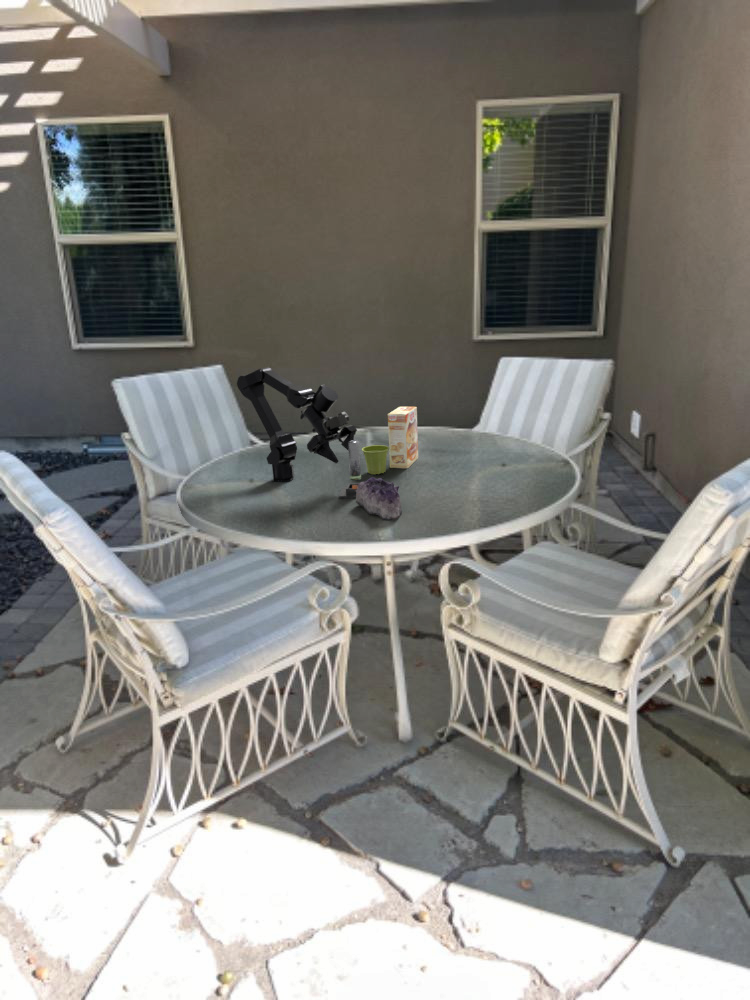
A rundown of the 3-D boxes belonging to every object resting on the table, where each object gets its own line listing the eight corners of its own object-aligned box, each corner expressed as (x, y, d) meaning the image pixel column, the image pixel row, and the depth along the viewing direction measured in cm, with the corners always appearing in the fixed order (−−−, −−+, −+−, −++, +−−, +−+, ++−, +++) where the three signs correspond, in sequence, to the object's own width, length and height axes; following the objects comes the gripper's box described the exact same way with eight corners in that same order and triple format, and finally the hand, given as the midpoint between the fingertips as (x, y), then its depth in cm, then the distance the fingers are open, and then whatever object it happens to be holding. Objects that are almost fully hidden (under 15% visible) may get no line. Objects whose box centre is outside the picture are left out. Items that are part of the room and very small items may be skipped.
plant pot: (387, 476, 237) (386, 451, 234) (360, 476, 239) (359, 451, 236) (392, 468, 246) (391, 445, 243) (366, 468, 248) (365, 445, 245)
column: (349, 480, 217) (346, 443, 214) (350, 477, 221) (348, 440, 217) (360, 480, 217) (358, 443, 213) (361, 477, 220) (359, 440, 217)
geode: (417, 516, 197) (412, 484, 193) (380, 528, 194) (375, 496, 190) (387, 495, 215) (382, 465, 211) (353, 506, 211) (348, 476, 207)
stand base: (338, 498, 216) (337, 488, 215) (343, 489, 226) (342, 479, 224) (370, 498, 215) (369, 487, 214) (373, 488, 224) (373, 478, 223)
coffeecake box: (408, 468, 245) (406, 414, 239) (388, 468, 247) (386, 414, 241) (419, 458, 258) (417, 406, 252) (401, 457, 261) (398, 405, 255)
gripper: (311, 410, 210) (340, 450, 207) (351, 400, 223) (379, 437, 220) (294, 432, 217) (322, 471, 214) (334, 421, 231) (361, 458, 227)
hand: (347, 459), depth 219 cm, fingers open, 9 cm apart
